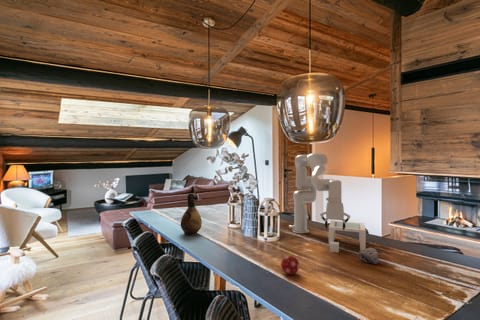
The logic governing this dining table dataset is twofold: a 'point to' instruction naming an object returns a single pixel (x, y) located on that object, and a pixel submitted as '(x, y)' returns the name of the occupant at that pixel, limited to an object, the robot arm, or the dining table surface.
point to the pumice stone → (369, 256)
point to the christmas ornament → (290, 264)
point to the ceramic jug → (191, 218)
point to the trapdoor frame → (361, 230)
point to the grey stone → (334, 247)
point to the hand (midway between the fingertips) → (335, 228)
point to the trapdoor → (347, 225)
